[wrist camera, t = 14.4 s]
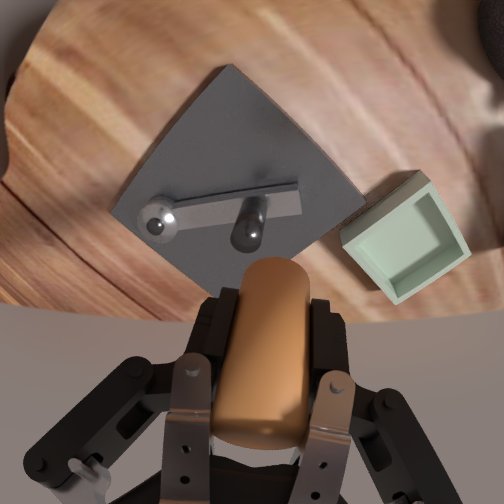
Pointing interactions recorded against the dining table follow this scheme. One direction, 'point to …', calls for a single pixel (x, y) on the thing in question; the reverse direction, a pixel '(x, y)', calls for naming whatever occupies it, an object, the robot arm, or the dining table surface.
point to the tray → (406, 239)
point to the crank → (221, 214)
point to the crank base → (238, 180)
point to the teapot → (492, 31)
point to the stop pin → (266, 360)
